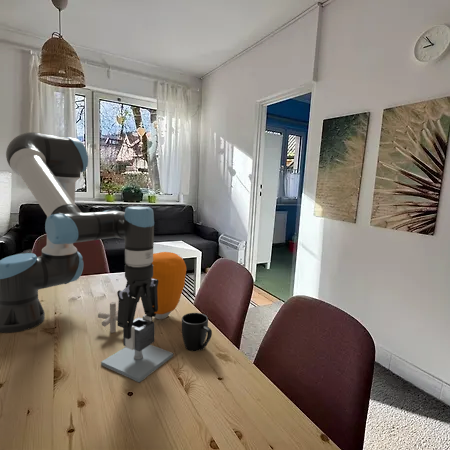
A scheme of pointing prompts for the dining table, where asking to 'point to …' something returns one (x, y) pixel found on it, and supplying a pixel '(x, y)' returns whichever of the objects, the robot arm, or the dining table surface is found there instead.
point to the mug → (195, 331)
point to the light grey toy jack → (110, 317)
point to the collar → (143, 333)
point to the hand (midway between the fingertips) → (138, 342)
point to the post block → (137, 361)
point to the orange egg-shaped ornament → (168, 281)
